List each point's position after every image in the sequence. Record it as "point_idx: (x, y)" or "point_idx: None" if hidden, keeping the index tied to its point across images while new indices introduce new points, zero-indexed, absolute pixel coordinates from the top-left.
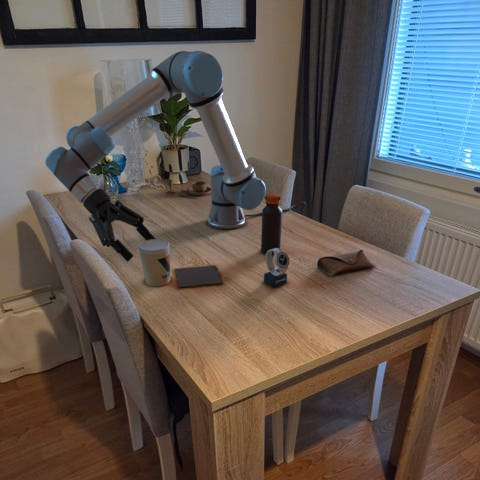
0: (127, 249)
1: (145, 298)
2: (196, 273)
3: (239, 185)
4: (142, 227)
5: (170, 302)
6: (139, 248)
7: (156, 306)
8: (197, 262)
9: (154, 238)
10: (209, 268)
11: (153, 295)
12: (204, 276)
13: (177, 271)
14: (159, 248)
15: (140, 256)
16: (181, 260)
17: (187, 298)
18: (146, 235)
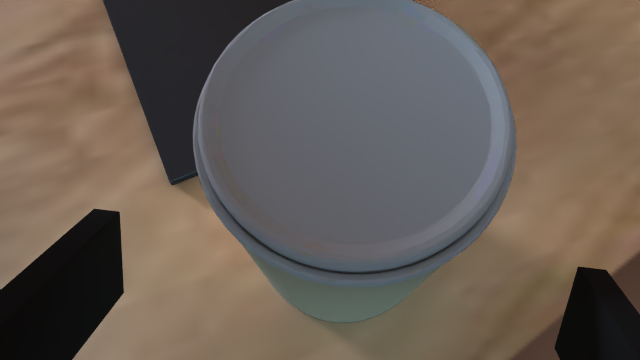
0: (619, 321)
1: (582, 230)
2: (220, 51)
3: None
4: (4, 336)
5: (567, 89)
6: (427, 258)
7: (637, 140)
8: (45, 95)
9: (96, 219)
10: (146, 5)
11: (531, 199)
12: (251, 5)
13: None
14: (426, 40)
15: (438, 267)
16: (14, 196)
17: (496, 28)
18: (72, 305)
